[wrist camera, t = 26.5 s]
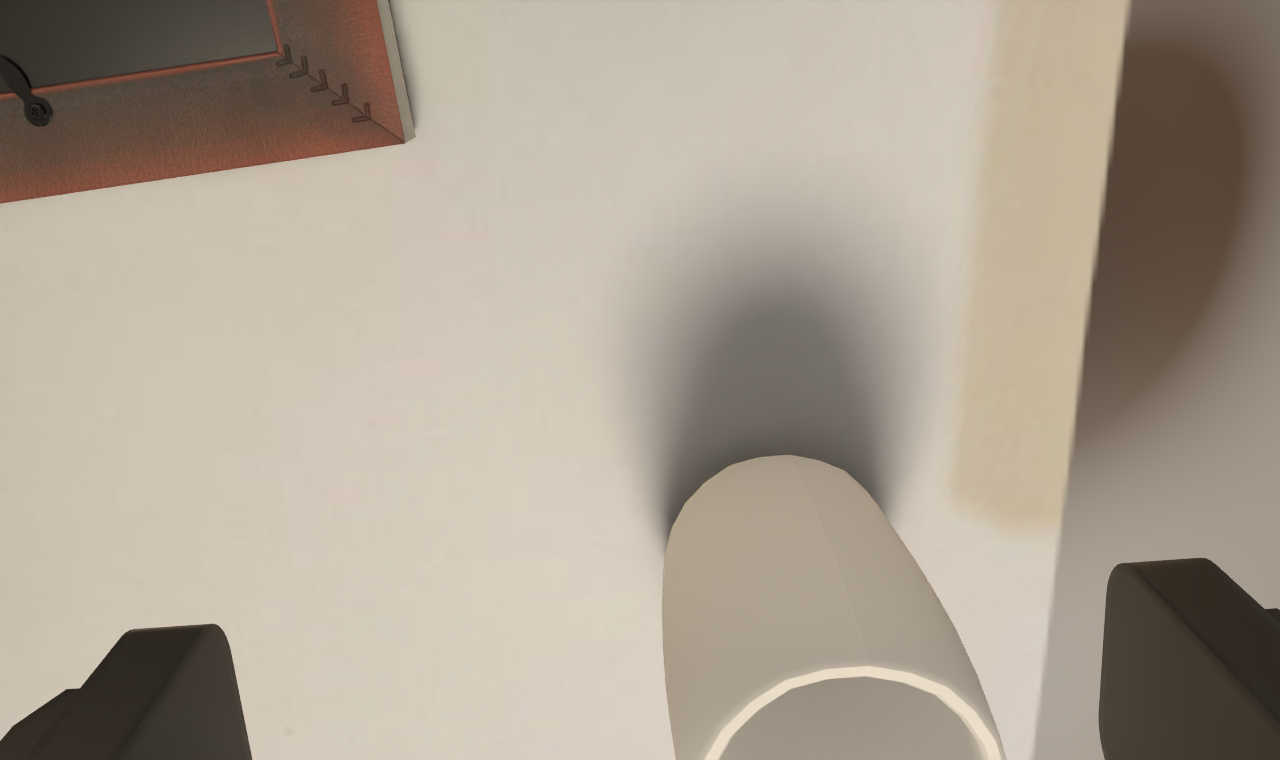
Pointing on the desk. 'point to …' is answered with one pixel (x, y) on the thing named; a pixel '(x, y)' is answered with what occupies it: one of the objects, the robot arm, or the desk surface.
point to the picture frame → (189, 88)
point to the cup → (809, 628)
